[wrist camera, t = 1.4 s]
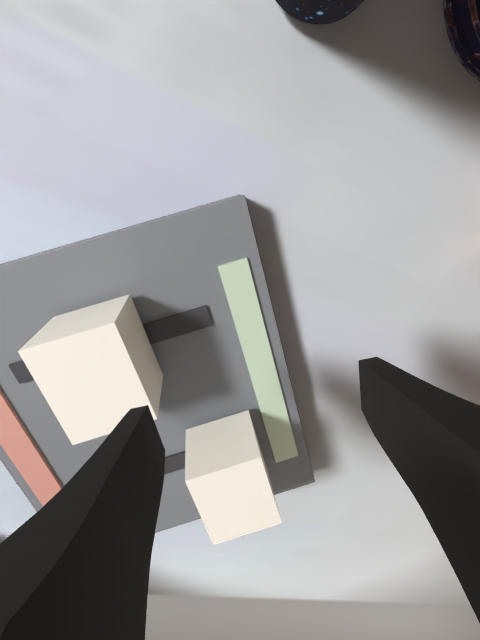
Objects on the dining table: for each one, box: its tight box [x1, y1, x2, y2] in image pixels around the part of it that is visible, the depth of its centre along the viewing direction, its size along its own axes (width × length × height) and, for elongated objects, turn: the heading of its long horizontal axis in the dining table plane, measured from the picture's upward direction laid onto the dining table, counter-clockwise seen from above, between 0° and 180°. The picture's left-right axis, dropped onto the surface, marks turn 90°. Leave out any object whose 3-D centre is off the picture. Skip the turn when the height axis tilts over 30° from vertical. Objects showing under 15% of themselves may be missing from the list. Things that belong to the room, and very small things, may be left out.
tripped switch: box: [18, 294, 163, 445], centre depth 17 cm, size 4×5×4 cm
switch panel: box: [0, 195, 315, 533], centre depth 22 cm, size 18×20×2 cm
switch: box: [185, 410, 282, 545], centre depth 20 cm, size 4×5×4 cm
